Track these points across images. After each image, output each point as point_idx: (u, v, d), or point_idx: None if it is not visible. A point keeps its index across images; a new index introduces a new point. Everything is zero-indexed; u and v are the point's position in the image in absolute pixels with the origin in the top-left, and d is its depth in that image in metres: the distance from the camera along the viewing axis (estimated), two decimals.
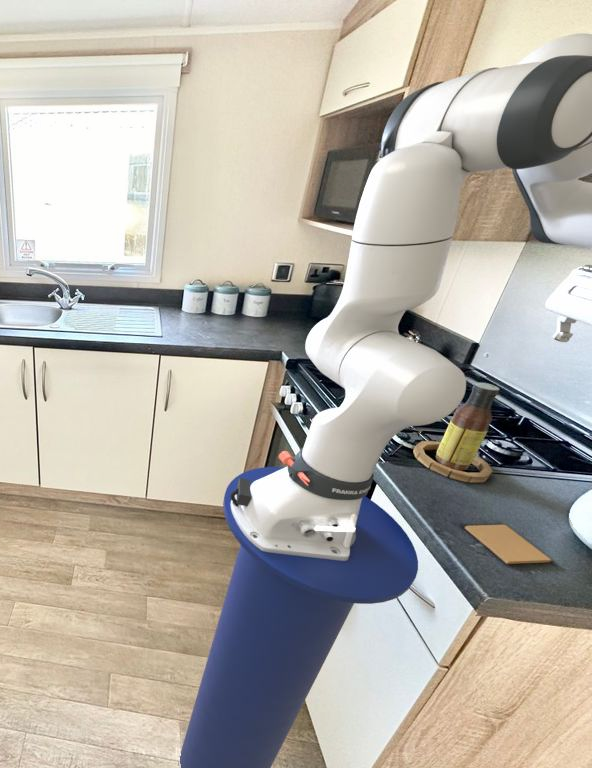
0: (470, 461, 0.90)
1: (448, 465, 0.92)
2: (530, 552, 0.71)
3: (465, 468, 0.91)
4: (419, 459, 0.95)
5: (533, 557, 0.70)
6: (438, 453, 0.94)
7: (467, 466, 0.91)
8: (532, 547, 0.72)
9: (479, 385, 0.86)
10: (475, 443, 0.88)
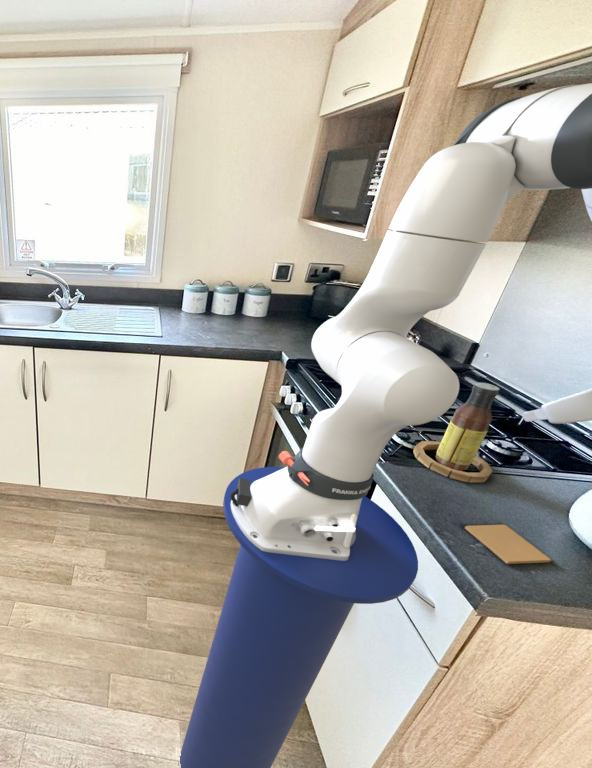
0: (470, 461, 0.90)
1: (448, 465, 0.92)
2: (530, 552, 0.71)
3: (465, 468, 0.91)
4: (419, 459, 0.95)
5: (533, 557, 0.70)
6: (438, 453, 0.94)
7: (467, 466, 0.91)
8: (532, 547, 0.72)
9: (479, 385, 0.86)
10: (475, 443, 0.88)
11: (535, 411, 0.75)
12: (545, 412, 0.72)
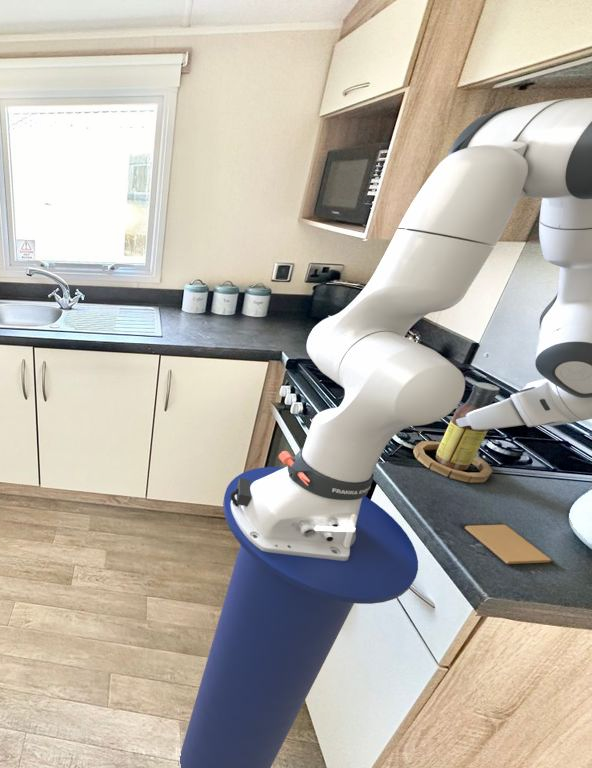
0: (470, 461, 0.90)
1: (448, 465, 0.92)
2: (530, 552, 0.71)
3: (465, 468, 0.91)
4: (419, 459, 0.95)
5: (533, 557, 0.70)
6: (438, 453, 0.94)
7: (467, 466, 0.91)
8: (532, 547, 0.72)
9: (479, 385, 0.86)
10: (475, 443, 0.88)
11: (466, 418, 0.86)
12: (468, 420, 0.82)
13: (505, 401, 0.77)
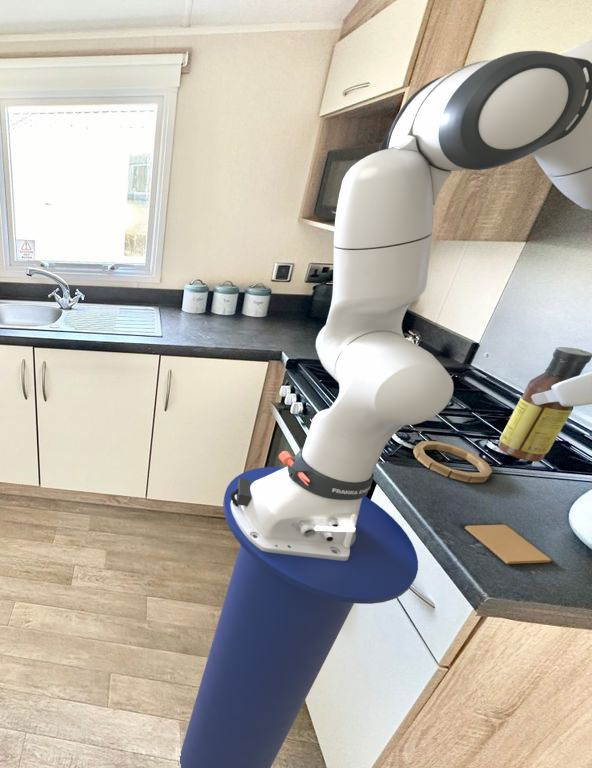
0: (547, 449, 0.71)
1: (517, 455, 0.72)
2: (530, 552, 0.71)
3: (540, 458, 0.72)
4: (419, 459, 0.95)
5: (533, 557, 0.70)
6: (503, 440, 0.74)
7: (542, 456, 0.71)
8: (532, 547, 0.72)
9: (564, 350, 0.66)
10: (556, 425, 0.68)
11: (547, 393, 0.66)
12: (556, 393, 0.62)
13: None
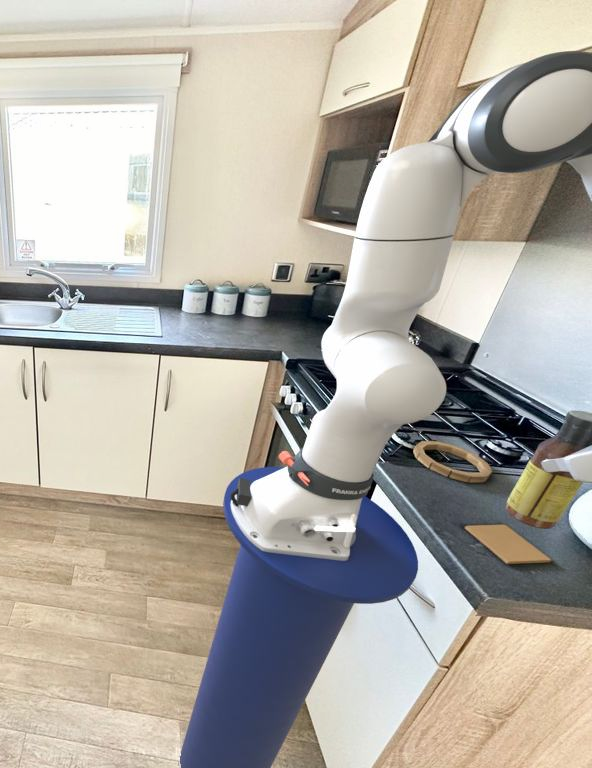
0: (559, 517, 0.66)
1: (526, 521, 0.68)
2: (530, 552, 0.71)
3: (551, 526, 0.67)
4: (419, 459, 0.95)
5: (533, 557, 0.70)
6: (511, 503, 0.70)
7: (553, 523, 0.67)
8: (532, 547, 0.72)
9: (577, 415, 0.62)
10: (568, 493, 0.64)
11: (558, 461, 0.62)
12: (568, 467, 0.57)
13: None
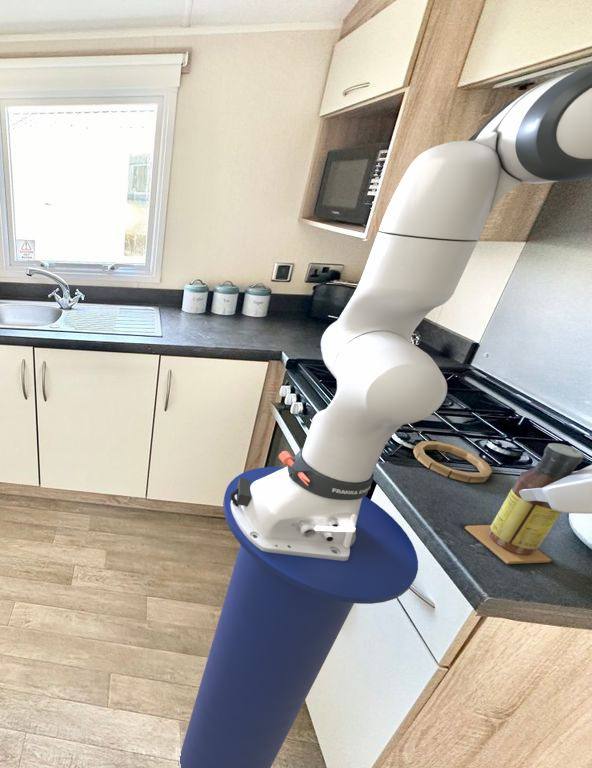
0: (538, 544, 0.69)
1: (508, 547, 0.70)
2: None
3: (531, 552, 0.70)
4: (419, 459, 0.95)
5: (533, 557, 0.70)
6: (493, 530, 0.72)
7: (534, 550, 0.70)
8: None
9: (555, 448, 0.64)
10: (547, 523, 0.67)
11: (535, 491, 0.64)
12: (546, 497, 0.60)
13: None
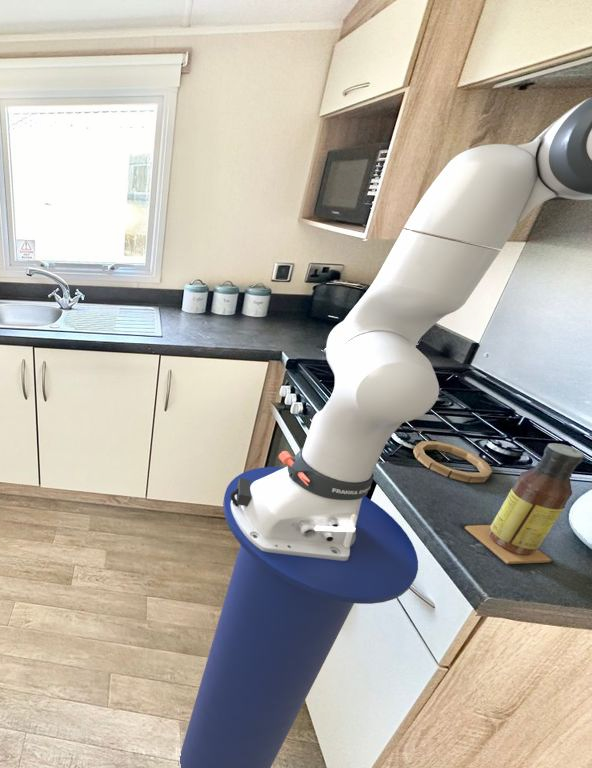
0: (538, 544, 0.69)
1: (508, 547, 0.70)
2: None
3: (531, 552, 0.70)
4: (419, 459, 0.95)
5: (533, 557, 0.70)
6: (493, 530, 0.72)
7: (534, 550, 0.70)
8: None
9: (555, 448, 0.64)
10: (547, 523, 0.67)
11: None
12: None
13: None
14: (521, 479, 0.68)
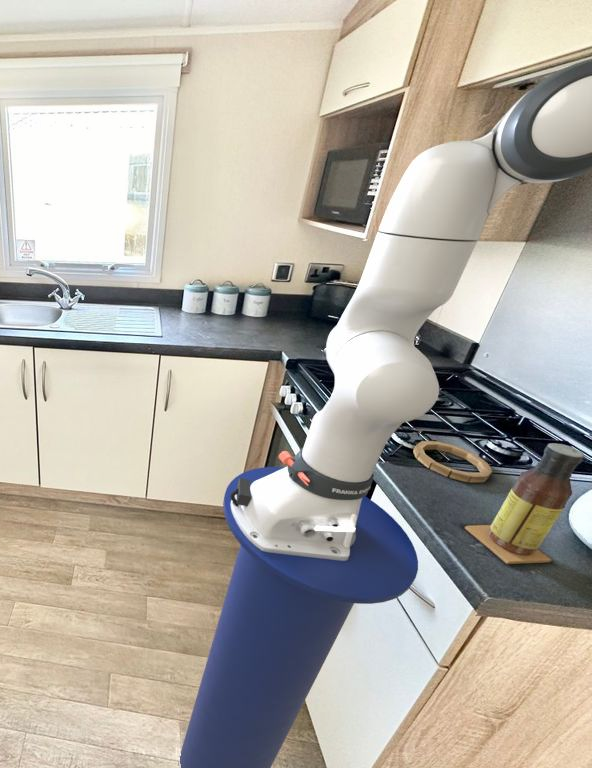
0: (538, 544, 0.69)
1: (508, 547, 0.70)
2: None
3: (531, 552, 0.70)
4: (419, 459, 0.95)
5: (533, 557, 0.70)
6: (493, 530, 0.72)
7: (534, 550, 0.70)
8: None
9: (555, 448, 0.64)
10: (547, 523, 0.67)
11: None
12: None
13: None
14: (521, 479, 0.68)
